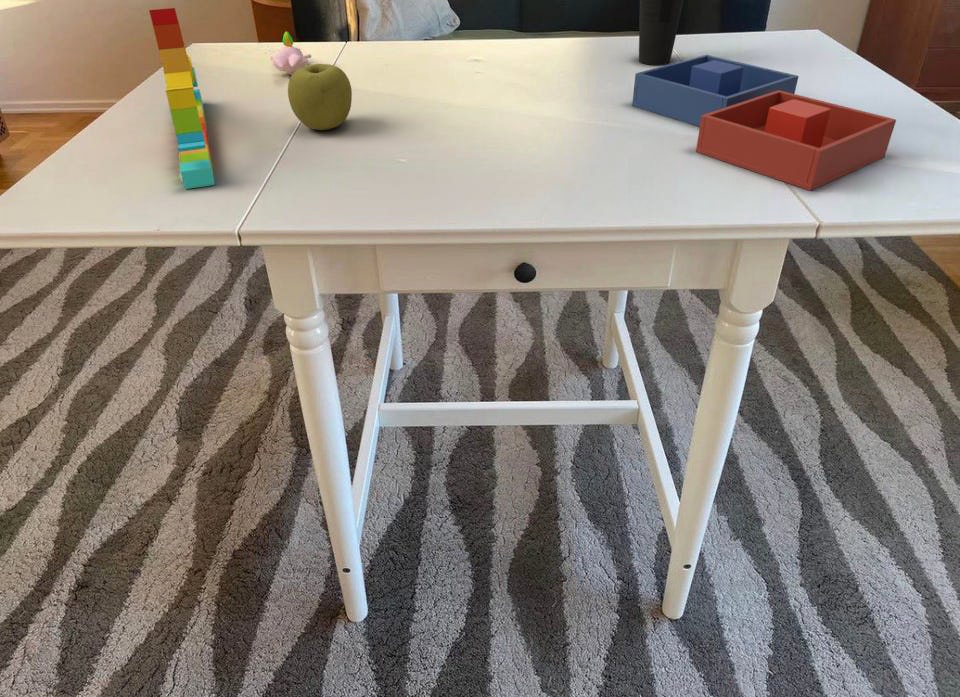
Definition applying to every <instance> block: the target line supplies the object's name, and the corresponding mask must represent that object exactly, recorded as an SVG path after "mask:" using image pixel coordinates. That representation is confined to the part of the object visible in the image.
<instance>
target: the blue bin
mask: <svg viewBox="0 0 960 697" xmlns="http://www.w3.org/2000/svg"><path fill="white" fill-rule="evenodd" d="M713 60H717V61H721V62H725V63H730V64H734V65H738V66H742V67H744V69H743V74H742V80H741V85H740V90H739V93H737V94H733V95H730V96H727V97H726V96H723V95H719V94H716V93H712V92H708V91H705V90H701V89H697V88H693V87H690V86H689V84H690V77H691V71H692V66H695V65H698V64H702V63H706V62H709V61H713ZM799 77H800V76H799V75H796V74H792V73H788V72H784V71H779V70H775V69H771V68H768V67H767V68H766V67H762V66H757V65H754V64H749V63H746V62H745V63H744V62H740V61H735V60H732V59H727V58H722V57H718V56H715V55H709V54H703V55H699V56H695V57H692V58H688V59H685V60H684V59H683V60H681V61H677V62H673V63H670V64H669V63H668V64H664V65H661V66H658V67H655V68H650V69H647V70H643V71H640V72H635V76H634V84H633V93H632V102H631V106H633V107H636V108H639V109H641V110H645V111H649V112H650V113H651V112H652V113H655V114H658V115H662V116H664V117H668V118H671V119H674V120H677V121H681V122H684V123H687V124H690V125H692V126H695V127H699V128H700V122H701V116H702V115H704V114H707V113H710V112H713V111H716V110H719V109H723V108H726V107H729V106H732V105H735V104H738V103H741V102H744V101H747V100H750V99H753V98H756V97H759V96H762V95H765V94H768V93H771V92H774V91H777V90H780V91H784V92H788V93H792V94H796V89H797V85H798V81H799Z"/></svg>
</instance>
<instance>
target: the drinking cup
mask: <svg viewBox="0 0 960 697" xmlns="http://www.w3.org/2000/svg"><path fill="white" fill-rule="evenodd" d="M683 4H684V0H639V22H638V23H639V24H638V25H639V29H638V30H639V31H638V33H639V34H638V62H639V63H641V64H644V65H648V66H649V65H650V66H665V65H669V63H670V64H671V60H672V57H673V56H672V55H673V50H674V45H675V43H676V42H675V41H676V37H677V32H678V28H679V23H680V19H681V14H682V9H683Z"/></svg>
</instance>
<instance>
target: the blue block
mask: <svg viewBox="0 0 960 697" xmlns="http://www.w3.org/2000/svg"><path fill="white" fill-rule="evenodd" d="M743 69H744V67H742V66H738V65H734V64H730V63H725V62H721V61H717V60H713V61H709V62H706V63H702V64H698V65H695V66H692V71H691V77H690V84H689V86H690V87H693V88H697V89H701V90H705V91H708V92H712V93H716V94H719V95H723V96H726V97H727V96H730V95H733V94H737V93H739V90H740V85H741V80H742V74H743Z"/></svg>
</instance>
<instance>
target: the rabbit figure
mask: <svg viewBox="0 0 960 697" xmlns="http://www.w3.org/2000/svg"><path fill="white" fill-rule="evenodd" d="M282 44H283V46H284V47H282V48H281V49H280V50H278V52H277V53H276V56H271V57H269V58H270V60H271V61H272V65H273V67H274V68H275V69H277V70H279V71H281V72H285V73H286V74H287V75H291V76H292V74H293V73H294V72H295V71H296V70H298V69H299V68H302V67H304V66H308V59H310V58H312V55H311V54H310V53H309V54H308V53H307V54H306V55H304V54H303V52H302V51H301V48H298V47H296V46H293V45H294V41H293V37H292V36H291V35H290V32H289V31H287V30H286V31H285V32H284V33H283V37H282Z"/></svg>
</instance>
